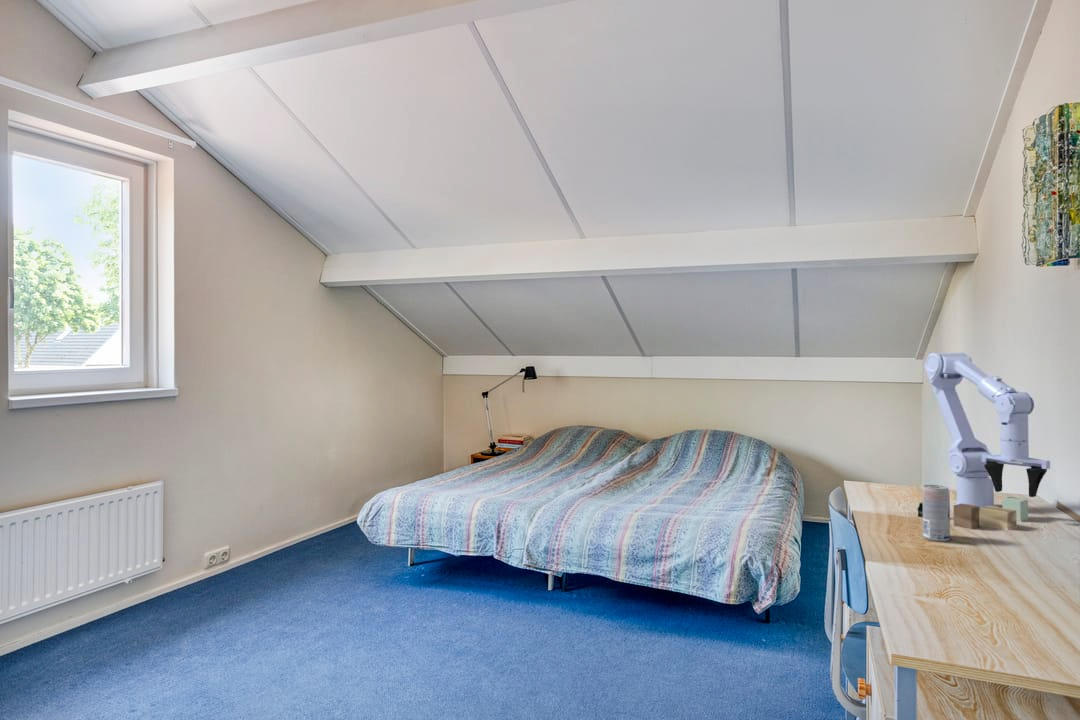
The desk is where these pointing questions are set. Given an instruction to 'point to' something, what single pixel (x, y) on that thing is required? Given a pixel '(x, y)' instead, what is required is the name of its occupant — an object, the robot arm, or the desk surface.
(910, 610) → the desk surface
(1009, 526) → the base block
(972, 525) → the walnut block
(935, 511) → the energy drink
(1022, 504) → the sage block
